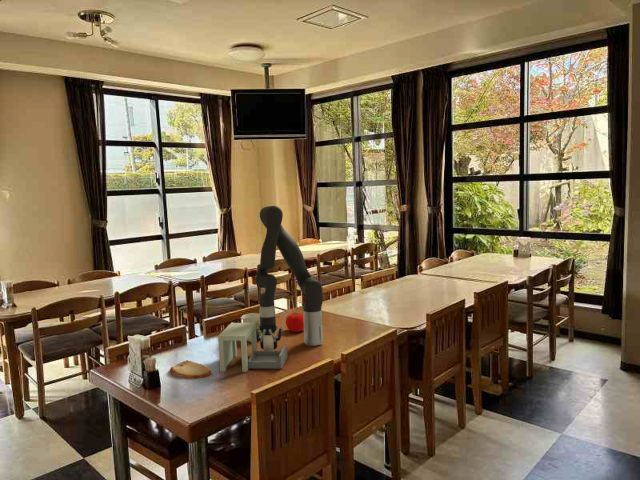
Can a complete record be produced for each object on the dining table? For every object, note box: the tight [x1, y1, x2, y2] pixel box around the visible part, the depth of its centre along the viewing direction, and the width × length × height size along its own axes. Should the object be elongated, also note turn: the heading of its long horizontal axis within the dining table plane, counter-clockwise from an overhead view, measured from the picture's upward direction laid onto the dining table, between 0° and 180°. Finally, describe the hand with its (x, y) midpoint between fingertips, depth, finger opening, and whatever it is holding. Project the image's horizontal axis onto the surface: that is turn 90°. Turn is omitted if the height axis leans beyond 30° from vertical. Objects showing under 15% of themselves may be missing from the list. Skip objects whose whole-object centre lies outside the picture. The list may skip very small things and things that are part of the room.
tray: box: [248, 344, 288, 370], centre depth 219 cm, size 16×15×6 cm
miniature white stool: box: [217, 322, 258, 373], centre depth 220 cm, size 12×20×16 cm, turn 174°
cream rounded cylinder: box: [262, 335, 276, 351], centre depth 233 cm, size 5×5×9 cm
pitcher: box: [240, 312, 262, 343], centre depth 254 cm, size 11×18×14 cm, turn 144°
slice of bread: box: [169, 360, 213, 380], centre depth 212 cm, size 18×18×4 cm
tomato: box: [285, 312, 304, 333], centre depth 267 cm, size 12×12×10 cm
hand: (269, 348), depth 233 cm, fingers closed on cream rounded cylinder, 5 cm apart
